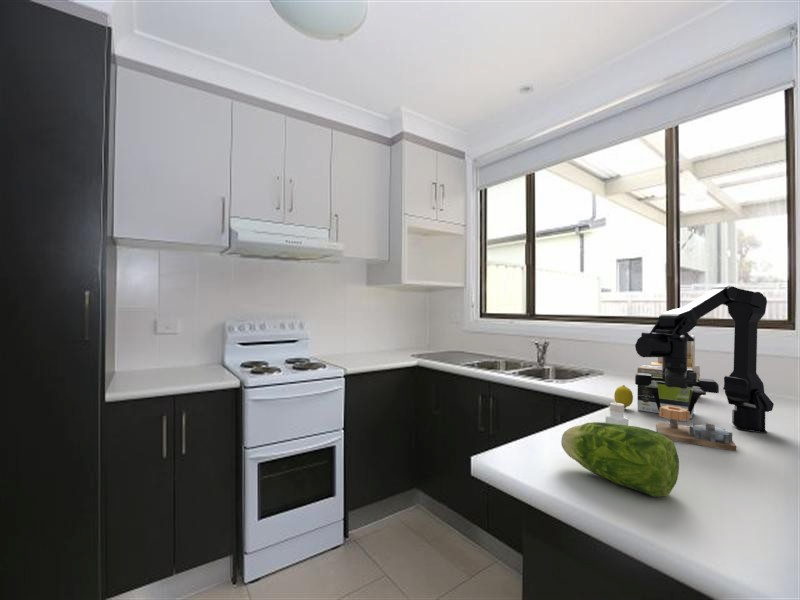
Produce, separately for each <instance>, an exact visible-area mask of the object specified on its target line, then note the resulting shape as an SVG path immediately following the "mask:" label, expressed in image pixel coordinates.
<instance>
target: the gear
mask: <svg viewBox="0 0 800 600" xmlns="http://www.w3.org/2000/svg"><path fill="white" fill-rule="evenodd" d="M658 415H659V417H663V418H665V419H668V420H670V419H674V420H678V422H679V421H681V422H683V421H690V420H691V418H690V411H688V409H684V408H681V407H674V406H669V405H666V406H661V407H660V408H659V413H658Z"/></svg>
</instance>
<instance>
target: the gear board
mask: <svg viewBox="0 0 800 600" xmlns="http://www.w3.org/2000/svg"><path fill="white" fill-rule="evenodd" d="M655 427H656V432H659V433H661V434H663V435H664V436H666V437H667V438H668V439H670V440H671V441H673V442H680V443H685V444H692V445H698V446H704V447H709V448H710V447H711V448H715V449H716V448H717V449H722V450H728V451H734V452H737V448H738V447H737V444H736V443H735V441H734V440H733V433H732V431H731V432H730V431H728V430H726V429H725V428H719V427H716V425H715V424H714V423H710V422H707V423H705V425H699V424H692V426H688V425H680V424H679V420H674V419H669V423H666V422H660V421H655Z"/></svg>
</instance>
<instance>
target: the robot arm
mask: <svg viewBox="0 0 800 600" xmlns="http://www.w3.org/2000/svg"><path fill="white" fill-rule="evenodd" d="M767 304H768V299H767V297H766V296H765V295H764V294H763V293H762V292H760V291H752V290H749V289H748V290H747V289H742V288H739V287H735V286H732V285H716V286H714V287H711V290H709V291H707V292H706V293H704V294H702V295H700V296H699V297H697V298H696V299H695V300H693V301H690V302H689V303H688V304H685V306H682V307H679V308H678V307H677V308H673V309H669V310H667V311H665V312H663V313H661V314H660V315H659V317H658V320H657V321H656V322H655V325H654V326H653V327H652V329H651V330H650V332H643V331H642V332H641V336H640V337H639V338H638V339H637V340H636V343H635V345H634V346H635V351H636V354H637V355H638V356H639V357H641V358H658V357H662V378H659V377H651V374H647V373H638V372H636V374H635V375H634V376H635V379H634V382H635V383H634V384H635V385H637V386H638V385H645V386H646V389H650V390H651V392H652V394H653V396H654V398H655V401H656V404H657V407H658V410H659V408H660V407H661V406H660V399H659V392H658V386H657V384H664V385H666V386H667V387H678V388H681V389H686V388H687V387H692V389H690V396H689V404H688V411H690V415H691V412H692V410H693V408H694V409H695V405H696V403H697V402H698V401H699V399H700V397H701V396H706V395H707V393H712V394H719V392H720V391H719V390H720V386H719V384H718V382H717V381H715V380H714V379H710V378H709V379H708V378H701V377H700V378H698V381H697V372H696V371H695V370H687V341H694V339H693V338H692V337H691V336H690V335H691V334H689V333H690V332H691V331H692V330H693V329H694V328H695V327H696V326H698V321H699V320H700V319H701V318H702V317H704V316H705V315H707V314H709V313H711V312H712V311H714V310H716V309H717V308H719V307H720V306H722V305H723V306H726V307H727V312H728V315H729V316H730V318H732V320H733V322H734V333H733V334H734V339H733V342H734V343H733V371H731V373H730V374H729V375H724V378H723V381H724V382H723V383H724V385H723V388H722V389H723V390H724V393H725V396H726V399H727V403H728V405H733V406H734V409H732V410H731V423H732V425H733V426H735V428H736V429H737V430H742V431H747V432H749V431H750V432H755V433H763V434H764V433H765V434H767V433H768V431H767V430H766V413H769V412H772V411H773V409H774V405H775V404H774V402H773V401H772V400H771V399H770V398H769V396H768V395H767V394H766V393H765V384H764V383H763V381H762V379H761V377H759V374H758V373H757V362H758V361H757V360H758V359H757V357H758V325H759V324H758V323H759V322H760V321H761V320H762V319H763V317H764V315H765V314H766V310H767Z"/></svg>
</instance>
